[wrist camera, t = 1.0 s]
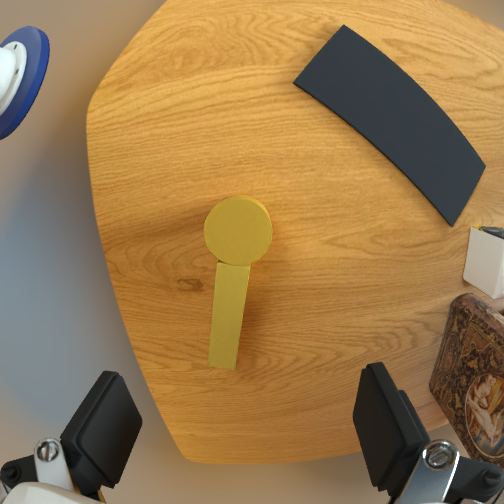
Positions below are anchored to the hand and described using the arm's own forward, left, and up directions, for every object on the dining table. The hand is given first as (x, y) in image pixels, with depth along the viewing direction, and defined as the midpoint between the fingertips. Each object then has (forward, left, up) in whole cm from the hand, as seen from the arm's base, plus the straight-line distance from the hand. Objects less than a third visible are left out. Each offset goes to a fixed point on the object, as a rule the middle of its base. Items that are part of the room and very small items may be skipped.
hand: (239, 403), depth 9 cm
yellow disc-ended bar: (-2, -3, -20) cm, 20 cm away
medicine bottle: (+30, +5, -20) cm, 37 cm away
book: (+31, -9, -20) cm, 38 cm away
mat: (+14, +17, -20) cm, 30 cm away
